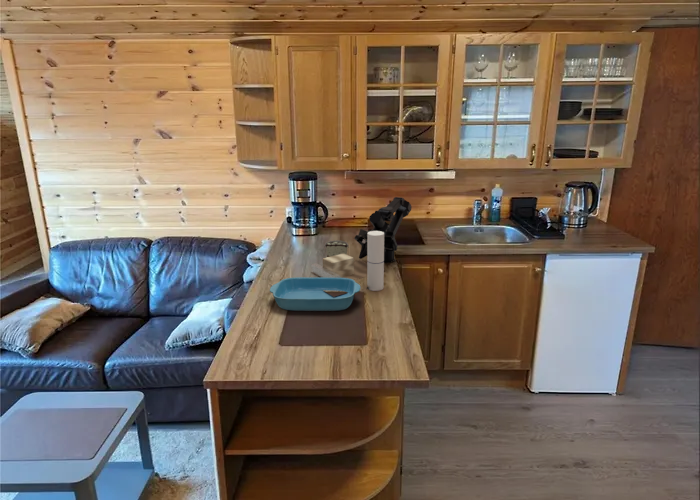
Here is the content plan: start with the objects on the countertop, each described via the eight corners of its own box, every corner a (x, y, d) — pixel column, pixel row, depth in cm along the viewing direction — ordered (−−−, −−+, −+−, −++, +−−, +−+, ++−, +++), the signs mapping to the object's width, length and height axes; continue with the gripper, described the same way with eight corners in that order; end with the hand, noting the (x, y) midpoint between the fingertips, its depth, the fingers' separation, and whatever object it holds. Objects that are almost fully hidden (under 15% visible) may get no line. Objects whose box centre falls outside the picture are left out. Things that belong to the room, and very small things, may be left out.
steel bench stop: (316, 271, 223) (315, 263, 222) (340, 283, 207) (339, 275, 206) (311, 272, 221) (311, 264, 220) (335, 285, 206) (335, 276, 205)
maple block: (344, 269, 225) (343, 253, 222) (354, 274, 219) (353, 257, 216) (323, 274, 218) (322, 258, 216) (332, 279, 212) (332, 263, 210)
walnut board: (360, 262, 238) (360, 260, 237) (385, 274, 222) (385, 271, 222) (310, 275, 222) (310, 272, 221) (334, 288, 206) (334, 285, 206)
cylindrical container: (364, 289, 205) (364, 234, 197) (371, 283, 211) (371, 230, 203) (379, 291, 202) (380, 236, 194) (386, 286, 208) (386, 232, 200)
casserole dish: (265, 313, 183) (264, 297, 181) (276, 291, 205) (275, 276, 202) (359, 315, 181) (359, 298, 179) (361, 292, 203) (361, 276, 200)
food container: (350, 258, 244) (349, 240, 241) (348, 262, 238) (348, 243, 235) (326, 258, 245) (326, 239, 242) (324, 262, 239) (324, 243, 236)
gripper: (357, 218, 229) (338, 244, 226) (380, 226, 214) (361, 254, 212) (369, 231, 235) (352, 256, 233) (393, 240, 221) (375, 267, 218)
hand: (359, 258), depth 224 cm, fingers closed
